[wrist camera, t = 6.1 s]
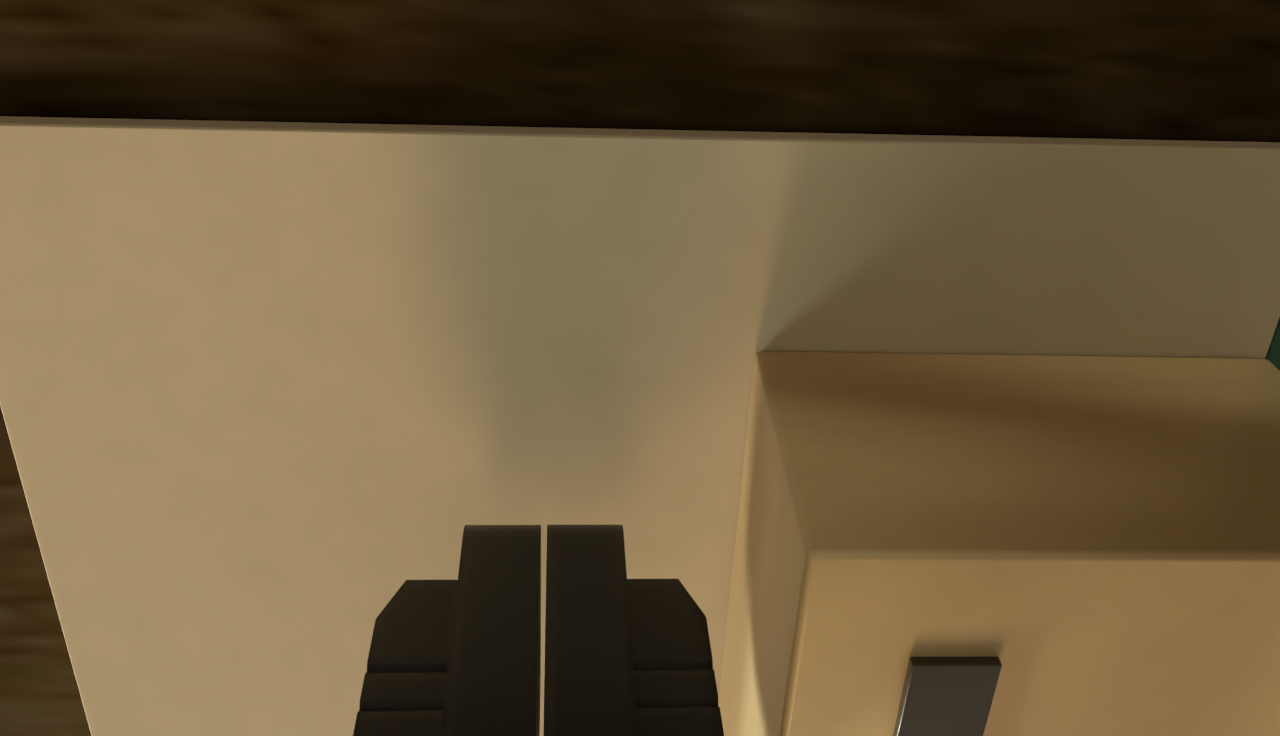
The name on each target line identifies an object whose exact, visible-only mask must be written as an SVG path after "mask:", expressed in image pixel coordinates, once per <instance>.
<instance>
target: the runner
mask: <svg viewBox="0 0 1280 736" xmlns="http://www.w3.org/2000/svg"><path fill="white" fill-rule="evenodd" d="M760 351H794V352H860V353H926V354H991V355H1057V356H1123V357H1188V358H1254V359H1267V360H1269V361H1271V362H1272V363H1273V364H1274V365H1275V366H1276V367H1277V368H1278V369H1279V370H1280V142H1236V141H1187V140H1138V139H1089V138H1040V137H992V136H943V135H894V134H845V133H796V132H747V131H698V130H649V129H600V128H551V127H502V126H454V125H405V124H356V123H307V122H258V121H209V120H160V119H111V118H62V117H13V116H0V406H1V410H2V413H3V417H4V420H5V424H6V428H7V431H8V435H9V439H10V442H11V446H12V449H13V453H14V457H15V460H16V464H17V467H18V471H19V475H20V478H21V482H22V486H23V489H24V493H25V496H26V500H27V504H28V507H29V511H30V515H31V518H32V522H33V525H34V529H35V533H36V536H37V540H38V543H39V547H40V551H41V554H42V558H43V562H44V565H45V569H46V572H47V576H48V580H49V583H50V587H51V590H52V594H53V598H54V601H55V605H56V609H57V612H58V616H59V619H60V623H61V627H62V630H63V634H64V638H65V641H66V645H67V648H68V652H69V656H70V659H71V663H72V666H73V670H74V674H75V677H76V681H77V685H78V688H79V692H80V695H81V699H82V703H83V706H84V710H85V713H86V717H87V721H88V724H89V728H90V732H91V735H92V736H353V733H354V728H355V722H356V717H357V712H358V711H359V708H360V697H361V692H362V687H363V681H364V676H365V673H367V661H368V656H369V651H370V646H371V641H372V635H373V630H374V625H375V620H376V618H377V617H378V615H379V614H380V613H381V612H382V610H383V609H384V608H385V606H386V605H387V604H388V603H389V601H390V600H391V599H392V597H393V596H394V595H395V594H396V592H397V591H398V590H399V588H400V587H401V586H402V585H403V583H404V582H405V581H406V580H458V573H459V564H460V555H461V547H462V538H463V531H464V526H465V525H541V683H540V736H544V679H545V621H546V562H547V525H622V526H623V532H624V545H625V559H626V574H627V579H679V580H680V582H681V583H682V585H683V586H684V587H685V589H686V590H687V591H688V593H689V594H690V595H691V597H692V598H693V600H694V601H695V602H696V604H697V605H698V606H699V608H700V609H701V610H702V612H703V613H704V615H705V616H706V619H707V626H708V632H709V639H710V646H711V652H712V659H713V670H714V672H715V679H716V685H717V692H718V695H719V686H720V677H721V668H722V658H723V649H724V640H725V630H726V621H727V612H728V602H729V593H730V584H731V574H732V565H733V556H734V546H735V537H736V528H737V519H738V509H739V500H740V491H741V481H742V472H743V463H744V453H745V444H746V435H747V425H748V416H749V407H750V397H751V388H752V379H753V370H754V360H755V356H756V354H757V352H760Z"/></svg>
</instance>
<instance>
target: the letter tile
mask: <svg viewBox="0 0 1280 736" xmlns="http://www.w3.org/2000/svg"><path fill="white" fill-rule="evenodd" d="M718 706H719V707H720V712H721V718H722V725H723V732H724V736H1280V370H1279V369H1278V368H1277V367H1276V366H1275V365H1274V364H1273V363H1272V362H1271V361H1269V360H1267V359H1254V358H1188V357H1123V356H1057V355H991V354H926V353H860V352H794V351H760V352H757V354H756V356H755V360H754V370H753V379H752V388H751V397H750V407H749V416H748V425H747V435H746V444H745V453H744V463H743V472H742V481H741V491H740V500H739V509H738V519H737V528H736V537H735V546H734V556H733V565H732V574H731V584H730V593H729V602H728V612H727V621H726V630H725V640H724V649H723V658H722V668H721V677H720V686H719V695H718Z"/></svg>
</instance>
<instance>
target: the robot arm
mask: <svg viewBox="0 0 1280 736" xmlns="http://www.w3.org/2000/svg"><path fill="white" fill-rule="evenodd" d="M540 683H541V525H465V526H464V531H463V538H462V547H461V555H460V564H459V573H458V580H406V581H405V582H404V583H403V585H402V586H401V587H400V588H399V590H398V591H397V592H396V594H395V595H394V596H393V597H392V599H391V600H390V601H389V603H388V604H387V605H386V606H385V608H384V609H383V610H382V612H381V613H380V614H379V615H378V617H377V618H376V620H375V625H374V630H373V635H372V641H371V646H370V651H369V656H368V661H367V673H365V676H364V681H363V687H362V692H361V697H360V708H359V711H358V712H357V717H356V722H355V728H354V733H353V736H540ZM544 736H724V732H723V725H722V718H721V712H720V707H719V706H718V692H717V685H716V679H715V672H714V670H713V659H712V652H711V646H710V639H709V632H708V626H707V619H706V616H705V615H704V613H703V612H702V610H701V609H700V608H699V606H698V605H697V604H696V602H695V601H694V600H693V598H692V597H691V595H690V594H689V593H688V591H687V590H686V589H685V587H684V586H683V585H682V583H681V582H680V580H679V579H627V574H626V559H625V545H624V532H623V526H622V525H547V562H546V621H545V679H544Z"/></svg>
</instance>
